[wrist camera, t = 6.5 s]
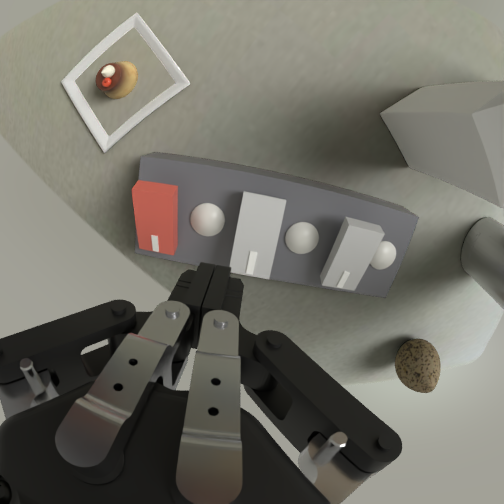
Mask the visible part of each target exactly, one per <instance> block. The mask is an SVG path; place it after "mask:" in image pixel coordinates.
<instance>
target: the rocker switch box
mask: <svg viewBox="0 0 504 504" xmlns="http://www.w3.org/2000/svg"><path fill="white" fill-rule="evenodd" d="M138 180H142V181H149V182H156V183H163V184H169V185H176V186H178V246H177V249H176V251H175V254H174V255H169V254H164V253H159V252H154V251H149V250H144V249H139V243H138V236H137V229H136V228H135V253H138V254H142V255H147V256H152V257H157V258H162V259H167V260H172V261H177V262H182V263H187V264H192V265H197V266H199V265H200V263H201V262H205V263H210V264H216V265H222V266H227V267H229V266H230V261H231V255H232V250H233V245H234V239H235V234H236V229H237V224H238V219H239V213H240V208H241V203H242V198H243V193H244V191H245V192H251V193H256V194H261V195H266V196H271V197H275V198H280V199H285V200H286V205H285V210H284V214H283V219H282V224H281V228H280V233H279V238H278V242H277V247H276V251H275V256H274V260H273V265H272V269H271V273H270V278H269V279H273V280H278V281H284V282H290V283H296V284H301V285H307V286H313V287H319V288H325V289H331V290H338V291H344V292H350V293H357V294H363V295H369V296H376V297H383V298H386V296H387V294H388V292H389V290H390V288H391V285H392V283H393V281H394V279H395V277H396V274H397V272H398V270H399V267H400V265H401V263H402V260H403V258H404V255H405V253H406V251H407V248H408V246H409V243H410V240H411V238H412V235H413V232H414V230H415V227H416V224H417V222H418V219H419V217H418V216H416V215H415V214H413V213H412V212H410V211H409V210H407V209H406V208H404V207H403V206H400V205H397V204H394V203H391V202H388V201H385V200H382V199H378V198H375V197H372V196H368V195H365V194H361V193H358V192H354V191H351V190H347V189H344V188H340V187H336V186H333V185H329V184H325V183H321V182H317V181H313V180H309V179H305V178H300V177H296V176H292V175H287V174H283V173H278V172H274V171H269V170H264V169H259V168H254V167H249V166H244V165H239V164H233V163H227V162H222V161H216V160H210V159H203V158H197V157H190V156H183V155H176V154H168V153H160V152H154V153H150V154H147V155H143V156H141V159H140V169H139V179H138ZM345 217H349V218H353V219H357V220H361V221H365V222H369V223H372V224H376V225H380V226H381V228H382V230H383V232H384V234H385V235H384V237H383V239H382V241H381V243H380V245H379V246H378V248H377V250H376V252H375V254H374V256H373V258H372V260H371V262H370V264H369V265H368V267H367V269H366V271H365V273H364V275H363V276H362V278H361V280H360V282H359V283H358V285H357V287H356V289H355V290H354V291H353V290H347V289H340V288H334V287H328V286H322V284H321V278H320V275H321V273H322V270H323V268H324V266H325V264H326V261H327V259H328V257H329V255H330V252H331V250H332V248H333V245H334V243H335V241H336V238H337V236H338V234H339V231H340V229H341V226H342V224H343V222H344V219H345Z"/></svg>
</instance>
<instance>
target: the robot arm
mask: <svg viewBox="0 0 504 504" xmlns="http://www.w3.org/2000/svg"><path fill="white" fill-rule="evenodd" d="M461 262H462V266H463V269H464V270H465V271H466V272H467V273H468V274H469V275H470V276H471V277H472V278H473V279H474V280H475V281H476V282H477V283H478V284H479V285H480V286H481V287H482V288H483V289H484V290H485V291H486V292H487V293H488V294H489V295H490V296H491V297H492V298H493V299H494V300H495V301H496V302H497V303H498V304H499V305H500V306H501V307H502V308H503V309H504V225H503V224H501V223H499V222H497V221H496V220H494V219H492V218H488V217H487V218H483V219H481V220H479V221H478V222H477V223H476V224H475V225H474V226H473V227H472V228H471V230H470V231H469V233H468V234H467V236H466V239H465V241H464V244H463V247H462V252H461ZM230 274H231V267H227V266H222V265H216V264H210V263H205V262H201V263H200V265H199V267H198V269H197V271H193V270H187V271H186V272H184V273H182V274H181V276H180V278H179V280H178V282H177V284H176V286H175V287H174V289H173V291H172V293H171V295H170V297H169V299H168V301H165V302H162V303H160V304H159V305H158V306H157V307H156V308H155V310H154V311H152V312H136V309H135V306H134V305H133V304H132V303H131V302H129V301H126V300H114V301H111V302H107V303H104V304H101V305H98V306H95V307H93V308H89V309H86V310H84V311H81V312H78V313H75V314H72V315H69V316H66V317H63V318H60V319H57V320H54V321H51V322H48V323H45V324H42V325H40V326H37V327H34V328H31V329H28V330H25V331H22V332H19V333H16V334H13V335H10V336H7V337H4V338H1V339H0V400H1V404H2V407H3V410H4V414H5V417H6V420H5V421H4V422H3V423H2V424H1V426H0V504H340V503H341V502H342V501H344V500H345V499H346V498H347V497H348V496H349V495H350V494H352V492H354V491H355V490H356V489H357V488H358V487H359V486H360V485H361V484H362V483H363V482H365V481H366V480H367V479H369V478H371V477H372V476H373V475H375V474H376V473H378V472H379V471H380V470H382V469H383V468H384V467H386V466H387V465H389V464H390V463H391V462H392V461H394V460H395V459H396V458H397V457H398V456H399V455H400V453H401V451H402V442H401V439H400V437H399V435H398V434H397V433H396V432H395V431H394V430H392V429H391V428H390V427H389V426H388V425H386V424H385V423H384V422H383V421H382V420H380V419H379V418H378V417H377V416H376V415H375V414H373V413H372V412H371V411H370V410H369V409H367V408H366V407H365V406H364V405H363V404H362V403H361V402H359V401H358V400H357V399H356V398H355V397H354V396H352V395H351V394H350V393H349V392H348V391H347V390H346V389H344V388H343V387H342V386H341V385H340V384H339V383H338V382H337V381H335V380H334V379H333V378H332V377H331V376H330V375H329V374H328V373H326V372H325V371H324V370H323V369H322V368H321V367H320V366H319V365H318V364H317V363H315V362H314V361H313V360H312V359H311V358H310V357H309V356H308V355H307V354H306V353H304V352H303V351H302V350H301V349H300V348H299V347H298V346H297V345H296V344H295V343H294V342H293V341H291V340H290V339H289V338H288V337H287V336H286V335H284V334H283V333H280V332H278V331H272V330H268V331H263V332H261V333H259V334H258V335H255V334H253V333H251V332H249V331H247V330H246V329H244V328H243V327H242V325H241V324H240V321H239V315H240V308H241V301H242V295H243V288H244V285H243V283H242V281H241V279H237V278H231V277H230ZM105 339H108V345H105V346H103V347H101V348H98V349H96V350H93V351H90V352H88V353H85V354H83V355H81V351H82V350H83V349H84V348H85V347H87V346H90V345H92V344H95V343H97V342H100V341H102V340H105ZM197 347H198V350H197V351H196V355H195V360H194V365H193V371H192V378H191V383H190V389H189V391H178V390H177V391H176V387H177V385H178V383H179V380H180V378H181V375H182V373H183V371H184V368H185V366H186V364H187V361H188V355H189V352H190V349H191V348H195V349H197ZM240 383H241V384H243V385H244V389H245V391H246V392H247V394H248V395H249V396H250V397H251V398H252V400H253V401H254V402H255V403H256V404H257V406H258V407H259V408H260V409H261V410H262V411H263V413H265V415H266V416H267V417H268V418H269V419H270V420H271V422H272V423H273V424H274V425H275V426H276V427H277V428H278V429H279V431H280V432H281V433H282V434H283V435H284V436H285V437H286V438H287V439H288V440H289V441H290V443H291V444H292V445H293V446H294V447H295V448H296V449H297V450H298V451H299V452H300V455H299V458H298V464H299V467H300V469H301V471H302V472H303V473H304V474H303V473H302V472H301V471H300V469H299V468H298V467H297V466H296V465H295V464H294V463H293V461H291V459H290V458H289V457H288V456H287V455H286V454H285V452H284V451H283V450H282V449H281V447H280V446H279V445H278V444H277V443H276V442H275V440H274V439H273V438H272V437H271V435H270V434H269V433H268V432H267V430H266V429H265V428H264V427H263V425H262V424H261V423H260V422H259V421H258V420H257V419H256V418H255V417H254V416H252V415H251V414H250V413H249V412H247V411H246V410H244V409H242V408H240Z"/></svg>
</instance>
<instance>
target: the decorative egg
mask: <svg viewBox="0 0 504 504" xmlns="http://www.w3.org/2000/svg"><path fill="white" fill-rule="evenodd" d="M395 369H396V373H397V375H398V377H399V379H400V380H401V382H402V383H403V384H404V385H405V386H407V387H408V388H410V389H412V390H414V391H417V392H421V393H428V392H431V391H432V390H433V389H434V388H435V387H436V385H437V382H438V380H439V376H440V358H439V355H438V353H437V351H436V349H435V348H434V346H433V345H432V344H430V343H429V342H428V341H426V340H423V339H412V340H409V341H407V342H406V343H404V344H403V345H402V346H401V347H400V349H399V350H398V352H397V355H396V358H395Z"/></svg>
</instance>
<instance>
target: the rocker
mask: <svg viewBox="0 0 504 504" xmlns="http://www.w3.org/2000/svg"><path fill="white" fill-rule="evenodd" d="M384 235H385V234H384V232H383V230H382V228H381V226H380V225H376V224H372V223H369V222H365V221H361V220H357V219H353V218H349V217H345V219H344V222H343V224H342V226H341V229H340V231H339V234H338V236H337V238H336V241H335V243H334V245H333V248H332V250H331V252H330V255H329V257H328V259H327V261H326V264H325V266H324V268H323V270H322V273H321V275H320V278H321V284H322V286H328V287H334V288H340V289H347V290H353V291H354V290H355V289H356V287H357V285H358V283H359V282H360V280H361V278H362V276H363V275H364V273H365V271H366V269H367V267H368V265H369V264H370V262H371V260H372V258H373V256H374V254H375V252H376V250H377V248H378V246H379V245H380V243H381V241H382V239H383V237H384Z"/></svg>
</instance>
